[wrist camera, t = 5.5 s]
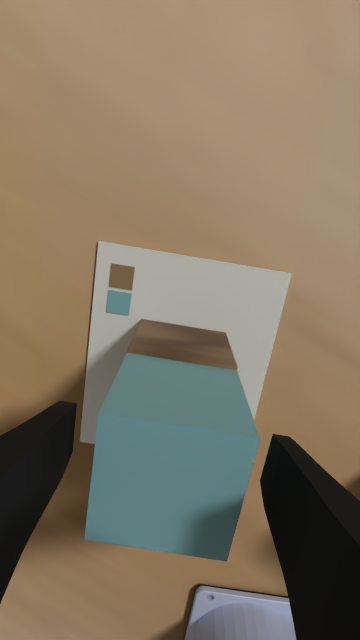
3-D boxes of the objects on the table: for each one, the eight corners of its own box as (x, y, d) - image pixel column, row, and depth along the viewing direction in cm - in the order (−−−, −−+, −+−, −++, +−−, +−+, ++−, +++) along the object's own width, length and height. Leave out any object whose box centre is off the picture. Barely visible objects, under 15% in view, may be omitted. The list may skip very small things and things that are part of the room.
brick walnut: (225, 332, 18) (237, 367, 14) (209, 406, 20) (216, 460, 15) (141, 318, 18) (127, 349, 14) (131, 394, 20) (114, 444, 15)
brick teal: (237, 370, 14) (260, 439, 10) (215, 463, 15) (226, 561, 11) (127, 352, 14) (98, 413, 9) (114, 447, 15) (83, 539, 11)
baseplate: (290, 273, 18) (292, 273, 17) (241, 464, 21) (242, 468, 21) (99, 240, 17) (98, 241, 17) (80, 439, 21) (79, 442, 20)
